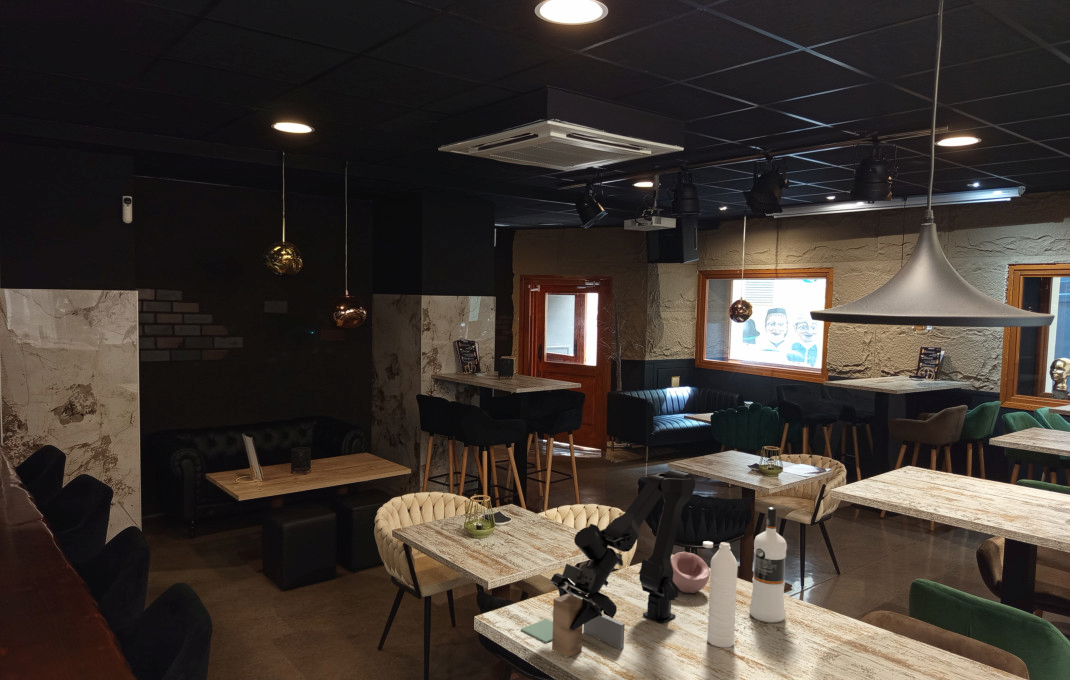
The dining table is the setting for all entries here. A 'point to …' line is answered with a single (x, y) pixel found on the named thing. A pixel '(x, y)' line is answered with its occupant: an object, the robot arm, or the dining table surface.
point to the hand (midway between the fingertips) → (563, 625)
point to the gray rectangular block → (606, 630)
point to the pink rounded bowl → (689, 572)
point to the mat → (540, 630)
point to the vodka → (769, 573)
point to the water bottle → (722, 596)
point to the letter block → (566, 625)
